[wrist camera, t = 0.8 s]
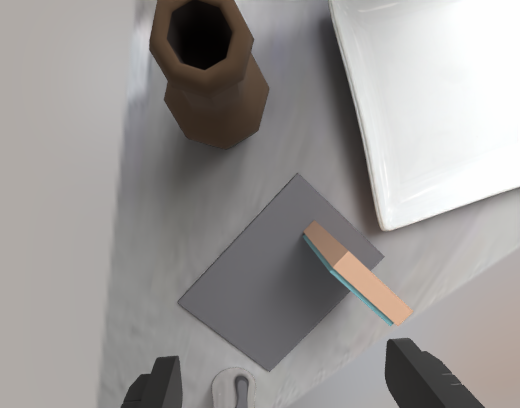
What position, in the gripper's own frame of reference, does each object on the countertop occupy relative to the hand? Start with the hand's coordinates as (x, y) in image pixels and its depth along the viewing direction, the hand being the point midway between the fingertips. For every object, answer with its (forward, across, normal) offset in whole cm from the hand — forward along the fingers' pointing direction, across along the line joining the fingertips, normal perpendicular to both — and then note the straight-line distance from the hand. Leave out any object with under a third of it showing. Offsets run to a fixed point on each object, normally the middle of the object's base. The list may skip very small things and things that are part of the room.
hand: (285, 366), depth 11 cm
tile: (+25, -10, +5) cm, 27 cm away
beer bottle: (+26, +3, -12) cm, 28 cm away
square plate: (+26, -25, -14) cm, 39 cm away
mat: (+25, -4, +9) cm, 27 cm away
